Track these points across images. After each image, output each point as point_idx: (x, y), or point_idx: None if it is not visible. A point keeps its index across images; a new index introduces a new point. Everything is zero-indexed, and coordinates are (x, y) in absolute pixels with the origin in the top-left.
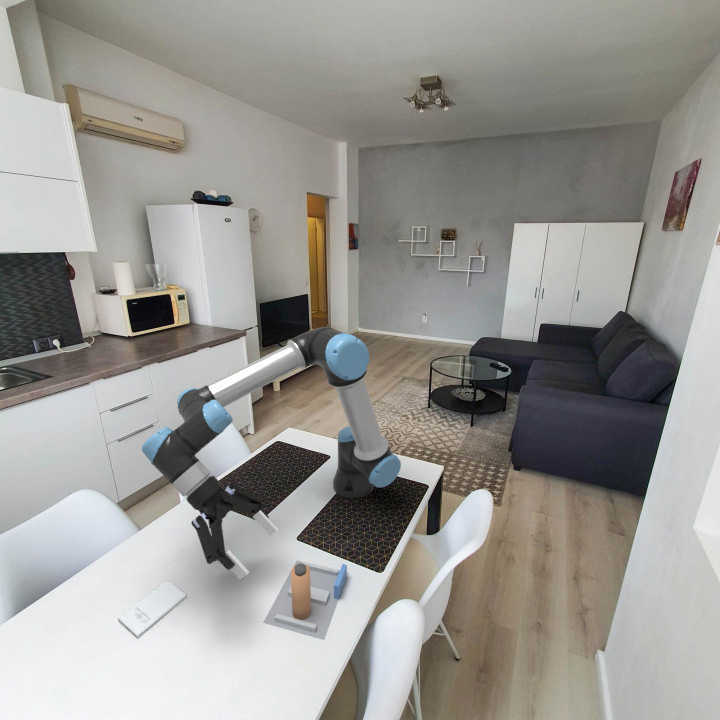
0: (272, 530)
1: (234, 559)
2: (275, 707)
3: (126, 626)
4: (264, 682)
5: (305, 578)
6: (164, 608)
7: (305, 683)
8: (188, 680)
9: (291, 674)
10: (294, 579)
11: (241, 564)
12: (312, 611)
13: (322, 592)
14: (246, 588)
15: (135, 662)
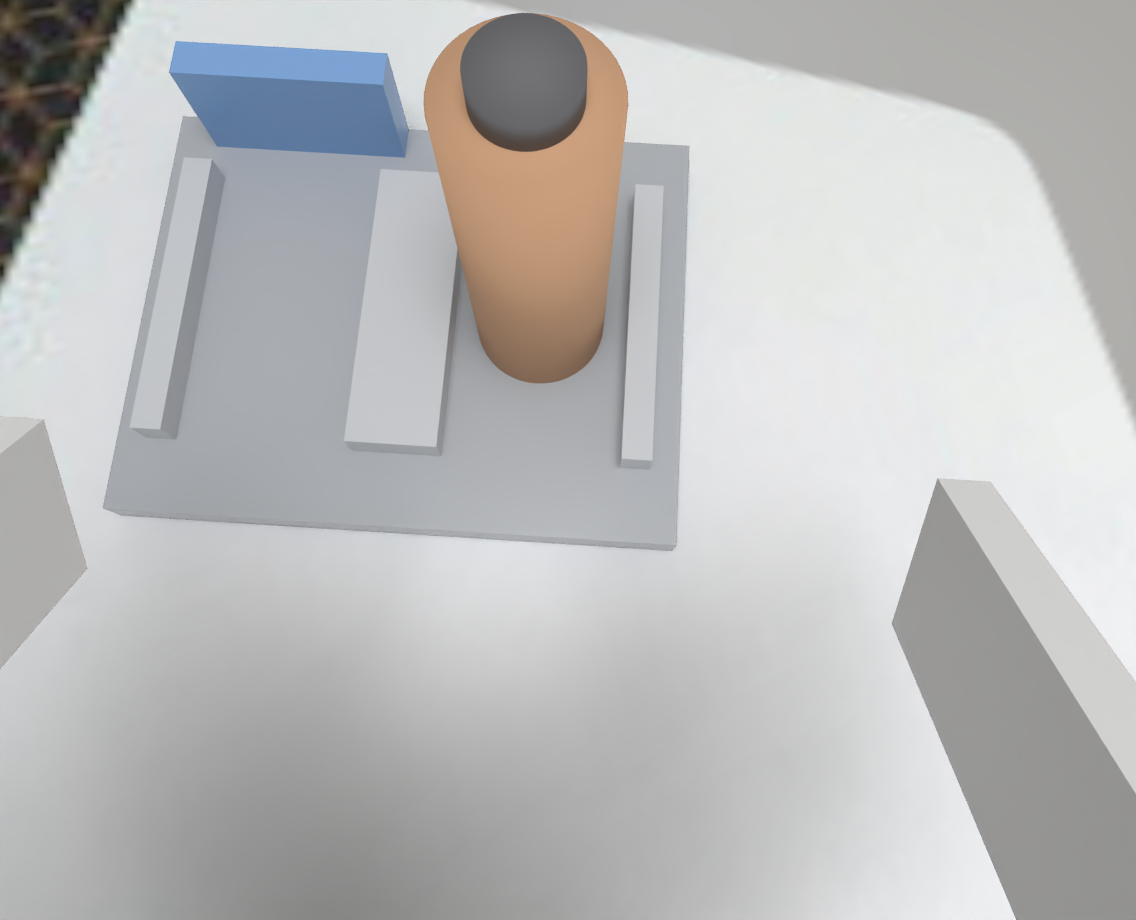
0: (31, 495)
1: (1131, 705)
2: (1059, 302)
3: None
4: (973, 403)
5: (590, 38)
6: None
7: (908, 199)
8: None
9: (890, 280)
10: (623, 134)
11: (1016, 581)
12: None
13: (396, 211)
14: (405, 824)
15: None
